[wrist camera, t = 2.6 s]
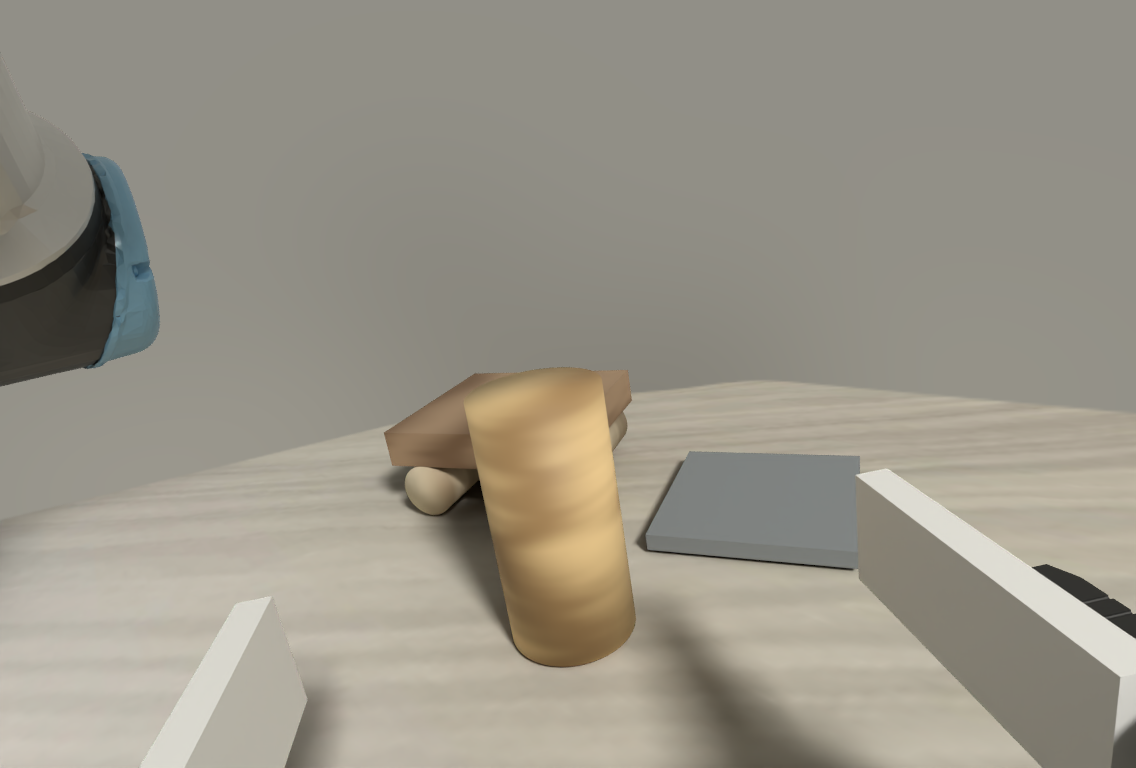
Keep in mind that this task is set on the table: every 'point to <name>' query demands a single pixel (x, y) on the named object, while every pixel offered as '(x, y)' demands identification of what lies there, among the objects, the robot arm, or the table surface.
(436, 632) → the table surface
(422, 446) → the slab
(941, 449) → the table surface
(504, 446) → the roller
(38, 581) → the table surface
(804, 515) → the pad
